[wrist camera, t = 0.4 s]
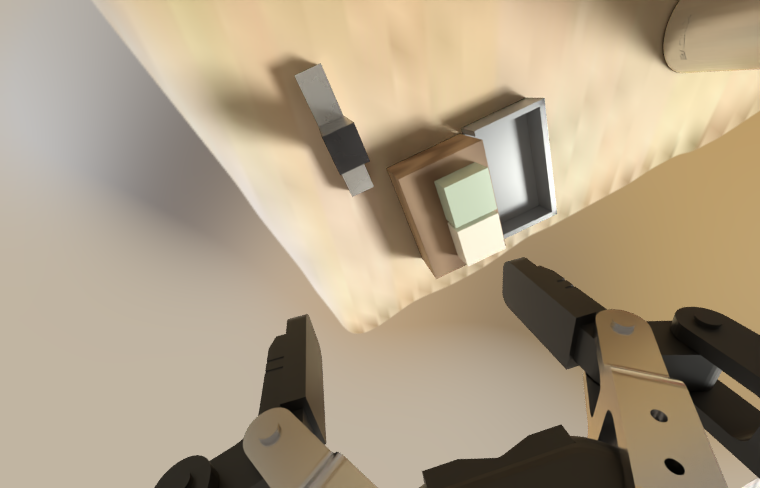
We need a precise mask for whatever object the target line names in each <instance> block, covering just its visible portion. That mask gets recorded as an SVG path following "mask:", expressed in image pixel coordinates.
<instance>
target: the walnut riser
mask: <svg viewBox="0 0 760 488" xmlns="http://www.w3.org/2000/svg"><path fill="white" fill-rule="evenodd" d="M474 162H476V163H478V164H481V165H483V166H486V167H488V162H487V158H486V153H485V149H484V144H483V140H481V139H477V138H474V137H470V136H466V135H463V134H458V135H456V136H454V137H452V138H450V139H448V140H446V141H444V142H441V143H439V144H437V145H435V146H433V147H431V148H429V149H427V150H424V151H422V152H420V153H418V154H416V155H414V156H412V157H410V158H407V159H405V160H403V161H401V162H399V163H397V164H395V165H393V166H390V167H388V168H387V171H388V173H389V176H390V178H391V181H392V183H393V186H394V188H395V191H396V193H397V196H398V198H399V201H400V203H401V206H402V208H403V211H404V214H405V216H406V219H407V221H408V224H409V226H410V229H411V231H412V234H413V236H414V239H415V241H416V244H417V246H418V249H419V251H420V254H421V256H422V259H423V260H424V262H425V263H426V265H427V266H428V267H429V269H430V270H431V272H432V273H433V275H434V276H435V277H436V279H437V278H439V277H442V276H444V275H446V274H448V273H450V272H452V271H454V270H456V269H459V268H461V267H463V266H465V265H466V264H465V263H464V262H463V261H462V259H461V258H460V257H459V256H458V254H457V251H456V248H455V245H454V242H453V239H452V236H451V233H450V230H449V226H448V222H449V221H448V220H447V219H446V217H445V214H444V211H443V208H442V205H441V202H440V198H439V195H438V192H437V189H436V186H435V183H434V181H436V180H438V179H440V178H442V177H444V176H447V175H449V174H451V173H453V172H455V171H457V170H459V169H461V168H464V167H466V166H468V165H470V164H472V163H474ZM488 170H489V167H488ZM489 174H490V171H489ZM490 179H491V176H490ZM491 183H492V180H491ZM492 188H493V185H492ZM493 192H494V190H493ZM494 197H495V194H494ZM495 202H496V199H495ZM496 206H497V203H496ZM494 211H495V212H497V213H498V215H499V212H498V208H497V209H496V210H494ZM499 220H500V217H499ZM500 224H501V222H500ZM501 229H502V226H501ZM502 233H503V231H502ZM503 238H504V235H503ZM504 242H505V240H504ZM505 246H506V244H505Z"/></svg>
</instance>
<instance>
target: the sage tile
mask: <svg viewBox="0 0 760 488" xmlns="http://www.w3.org/2000/svg"><path fill="white" fill-rule="evenodd" d="M434 183H435V186H436V189H437V192H438V195H439V198H440V202H441V205H442V208H443V211H444V214H445V217H446V219H447V220H448V221H449V222H450V223H451V224H452V225H453V226H454V227H455V228H458V227H460V226H462V225H464V224H466V223H468V222H471V221H473V220H475V219H477V218H479V217H481V216H483V215H485V214H487V213H490V212H492V211H494V210H496V209H497V206H496V202H495V197H494V192H493V188H492V183H491V179H490V174H489V170H488V167H486V166H483V165H481V164H478V163H476V162H474V163H472V164H470V165H468V166H466V167H464V168H461V169H459V170H457V171H455V172H453V173H451V174H449V175H447V176H444V177H442V178H440V179H438V180H436V181H434Z"/></svg>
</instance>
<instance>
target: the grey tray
mask: <svg viewBox="0 0 760 488" xmlns="http://www.w3.org/2000/svg"><path fill="white" fill-rule="evenodd" d="M461 129H462V133H463V135H466V136H470V137H474V138H477V139H481V140H483V144H484V149H485V153H486V158H487V162H488V167H489V171H490V176H491V180H492V185H493V190H494V194H495V199H496V203H497V208H498V212H499V217H500V222H501V226H502V231H503V235H504V239H505V238H507V237H509V236H511V235H514V234H516V233H518V232H520V231H522V230H524V229H526V228H528V227H530V226H533V225H535V224H537V223H539V222H541V221H543V220H545V219H547V218H549V217H552V216H554V215H556V214H557V209H556V199H555V190H554V181H553V172H552V163H551V154H550V144H549V135H548V126H547V117H546V108H545V98H524V99H522V100H520V101H518V102H516V103H514V104H512V105H510V106H507V107H505V108H503V109H501V110H499V111H497V112H495V113H493V114H490V115H488V116H486V117H484V118H482V119H480V120H478V121H476V122H473V123H471V124H469V125H467V126H465V127H463V128H461Z"/></svg>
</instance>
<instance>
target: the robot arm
mask: <svg viewBox="0 0 760 488" xmlns="http://www.w3.org/2000/svg"><path fill="white" fill-rule="evenodd" d="M663 48H664V57H665V60H666V62H667V64H668V66H669V67H670V68H671V69H672V70H673V71H676V72H678V73H694V72H713V71H735V70H754V69H760V0H680V1H679V2H678V4H677V5H676V7H675V9H674V11H673V12H672V15H671V17H670V19H669V22H668V25H667V28H666V31H665V36H664V43H663ZM503 298H504V301H505V303H506V304H507V306H508V307H509V308H510V310H511V311H512V312H513V313H514V314H515V315H516V316H517V317H518V318H519V319H520V320H521V321H522V322H523V323H524V325H525V326H526V327H527V328H528V329H529V330H530V331H531V332H532V333H533V334H534V335H535V336H536V337H537V338H538V339H539V341H540V342H541V343H542V344H543V345H544V346H545V347H546V348H547V349H548V350H549V351H550V352H551V353H552V355H553V356H554V357H555V358H556V359H557V360H558V361H559V362H560V363H561V364H562V365H563V366H564V367H565V368H566V369H570V368H573V367H576V366H580V367H581V368H582V369H583V370H584V371H583V385H584V394H585V403H586V412H587V422H588V436H587V438H586V437H578V436H570V435H569V434H568V433H567V431H566V430H565V429H564V427H563V426H562V425H558V426H555V427H552V428H549V429H547V430H543V431H540V432H538V433H535V434H532V435H529V436H527V437H526V438H525V439H523V440H522V441H521V442H520V443H518V444H517V445H516V446H514V447H513V448H512V449H511V450H509V451H508V452H507V453H505V454H504V455H503V456H501V457H499V458H484V459H457V460H454V461H451V462H449V463H446V464H443V465H440V466H437V467H434V468H431V469H428V470H425V471H422V473H423V478H424V483H425V484H424V485H422V486H421V487H419V488H728V486H727V484H726V481H725V479H724V476H723V474H722V472H721V469H720V467H719V464H718V462H717V459H716V457H715V455H714V453H713V450H712V448H711V445H710V442H709V440H708V438H707V435H706V433H705V431H704V429H705V430H707V431H708V432H709V433H710V434H711V435H712V436H713V437H714V438H715V439H717V440H718V441H719V442H720V443H721V444H722V445H723V446H724V447H725V448H726V449H728V450H729V451H730V452H731V453H732V454H733V455H734V456H735V457H736V458H738V459H739V460H740V461H741V462H742V463H743V464H744V465H745V466H746V467H747V468H749V469H750V470H751V471H752V472H753V473H754V474H755V475H756V476H757V477H759V478H760V411H759V410H758V409H756V408H755V407H754V406H752V405H751V404H750V403H748V402H747V401H746V400H744V399H743V398H742V397H740V396H739V395H738V394H736V393H735V392H734V391H732V390H731V389H730V388H728V387H727V386H726V385H724V384H723V383H722V382H720V381H719V380H718V377H719V375H720V373H721V371H723V372H725V373H726V374H728V375H729V376H730V377H732V378H733V379H735V380H736V381H738V382H739V383H740V384H742V385H743V386H744V387H746V388H747V389H749V390H750V391H751V392H753V393H755V394H756V395H757V396H758V397H759V398H760V335H758V334H757V333H755V332H753V331H751V330H750V329H748V328H746V327H744V326H742V325H741V324H739V323H737V322H736V321H734V320H732V319H730V318H729V317H727V316H725V315H723V314H720V313H718V312H715V311H712V310H709V309H705V308H699V307H684V308H681V309H679V310H677V311H676V313H675V315H674V318H673V321H649V322H648V321H645V320H643V319H642V318H641V317H639V316H637V315H635V314H633V313H630V312H627V311H623V310H616V309H608V310H607V309H605V308H604V307H603V306H601V305H600V304H599V303H597V302H596V301H594V300H593V299H592V298H590V297H589V296H587V295H586V294H585V293H583V292H582V291H581V290H579V289H578V288H576V287H574V286H573V285H572V284H571V283H570V282H568V281H567V280H566V281H565V280H564V278H563V277H561V276H560V275H559V274H557V273H556V272H554V271H552V270H550V269H547V268H544V267H542V266H538V267H537V266H536V265H535V264H533V263H532V262H531V261H529V260H528V259H527V258H524V257H523V258H519V259H515V260H511V261H508V262H505V263H504V266H503ZM325 444H326V431H325V410H324V391H323V371H322V356H321V350H320V346H319V343H318V340H317V337H316V334H315V331H314V329H313V326H312V323H311V320H310V317H309V315H308V314H306V315H302V316H298V317H295V318H291V319H288V320H287V329H286V334H284V335H281V336H277V337H276V338H275V340H274V341H273V343H272V345H271V346H270V348H269V351H268V358H267V364H266V374H265V377H264V383H263V390H262V396H261V403H260V409H259V415H258V417H257V418H256V419H255V420H254V421H253V422H252V423H251V424H250V426H249V427H248V429H247V431H246V433H245V436H244V438H243V439H242V440H241V441H240V442H239V443H237V444H236V445H235V446H233V447H231V448H230V449H228V450H227V451H225V452H223V453H222V454H220V455H219V456H217V457H215V458H214V459H212V460H211V461H208V459H207V458H205V457H203V456H199V455H196V456H191V457H188V458H185V459H183V460H181V461H180V462H178V463H177V464H176V465H174V466H173V467H171V468H170V469H169V470H168V471H167V472H166V473H165V474H164V475H163V477H162V478H161V479H160V480H159V482H158V483H157V485H156V486H155V488H377V487H376V486H375V485H374V484H373V483H372V482H371V481H370V480H369V479H368V478H367V477H366V476H365V475H364V474H363V473H362V472H361V471H359V470H358V469H357V468H356V467H355V466H354V465H353V464H352V463H351V462H350V461H349V460H348V459H347V458H346V457H345V456H343V455H342V454H341V453H339V452H336V453H333V452H331V451H330V450H329V449H328V448H327V447H326V446H325Z"/></svg>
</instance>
